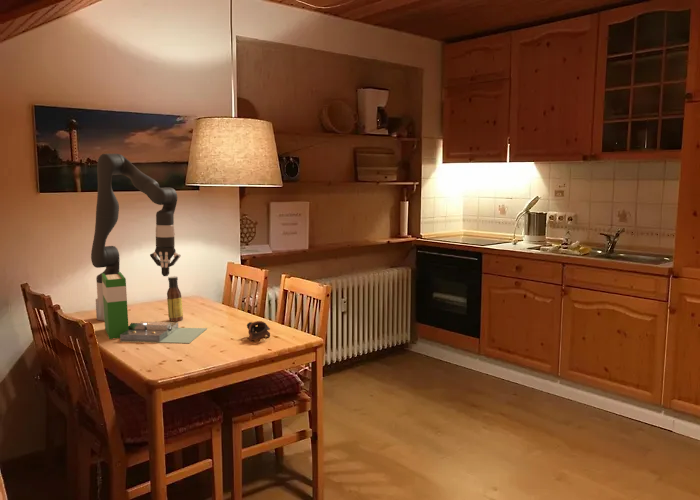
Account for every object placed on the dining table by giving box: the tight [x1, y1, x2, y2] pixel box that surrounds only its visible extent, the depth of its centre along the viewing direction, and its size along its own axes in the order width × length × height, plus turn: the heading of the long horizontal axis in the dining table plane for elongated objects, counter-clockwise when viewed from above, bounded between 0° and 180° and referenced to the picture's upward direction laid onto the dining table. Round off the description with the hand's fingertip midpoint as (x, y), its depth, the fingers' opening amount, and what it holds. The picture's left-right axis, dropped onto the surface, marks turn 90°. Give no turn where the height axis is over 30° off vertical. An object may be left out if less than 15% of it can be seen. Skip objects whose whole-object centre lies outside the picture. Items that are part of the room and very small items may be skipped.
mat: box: [119, 327, 208, 344], centre depth 244 cm, size 28×22×1 cm
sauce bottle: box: [166, 275, 184, 322], centre depth 267 cm, size 7×6×20 cm
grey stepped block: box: [119, 322, 172, 342], centre depth 240 cm, size 18×12×5 cm
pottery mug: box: [246, 320, 271, 342], centre depth 239 cm, size 12×10×8 cm
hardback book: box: [101, 271, 129, 340], centre depth 245 cm, size 18×7×24 cm, turn 28°
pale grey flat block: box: [139, 321, 179, 336], centre depth 247 cm, size 16×12×4 cm
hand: (165, 275), depth 251 cm, fingers closed
